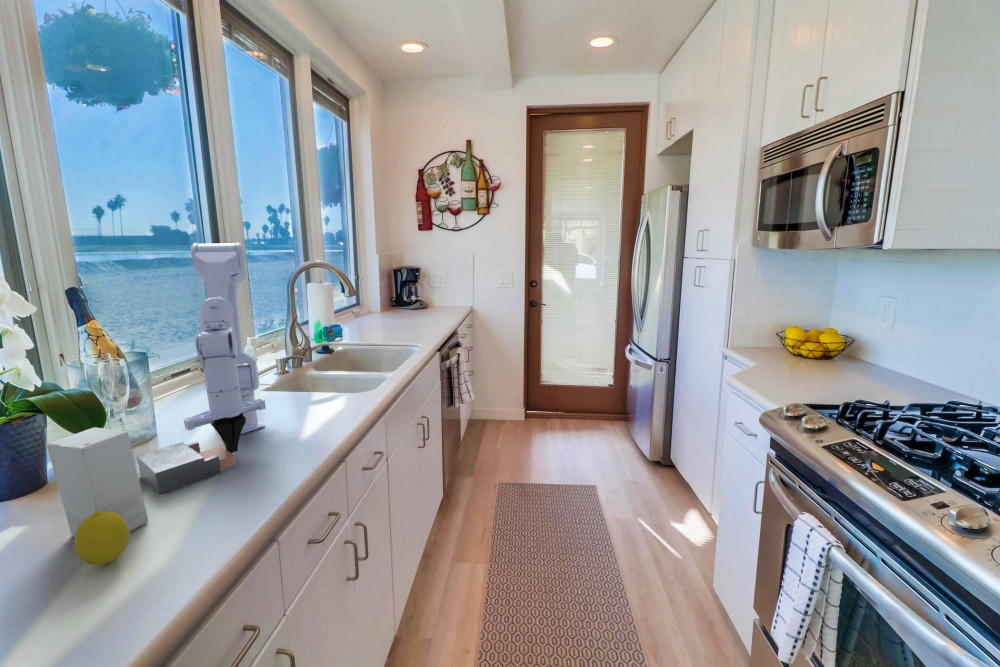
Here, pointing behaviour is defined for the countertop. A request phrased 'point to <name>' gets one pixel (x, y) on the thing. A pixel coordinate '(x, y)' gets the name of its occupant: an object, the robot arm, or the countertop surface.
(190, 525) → the countertop surface
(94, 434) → the skincare box
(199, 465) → the low gray notched block
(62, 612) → the countertop surface
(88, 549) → the lemon
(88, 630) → the countertop surface
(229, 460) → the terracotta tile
